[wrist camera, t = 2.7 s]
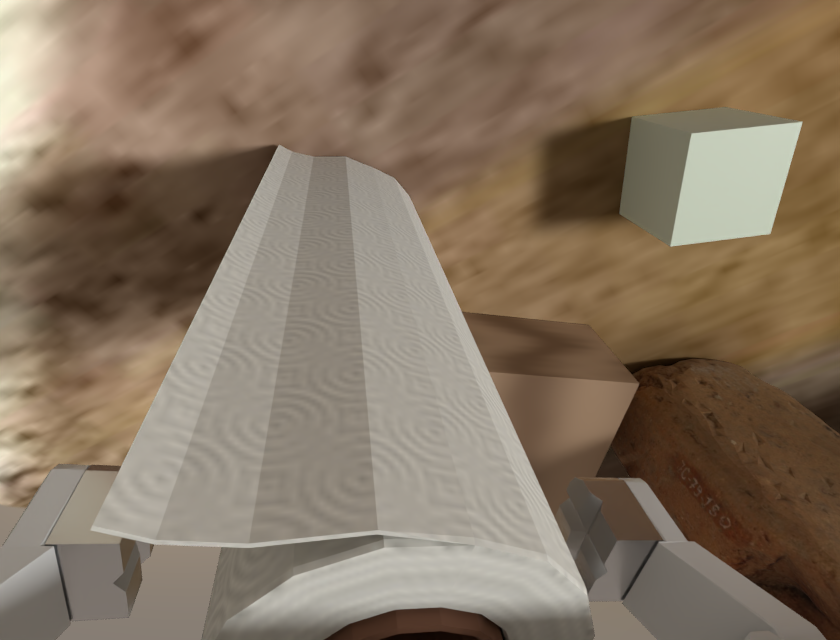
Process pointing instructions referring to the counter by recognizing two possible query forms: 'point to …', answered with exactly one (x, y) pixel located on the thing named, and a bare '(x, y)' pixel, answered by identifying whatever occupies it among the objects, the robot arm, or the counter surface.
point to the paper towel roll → (344, 437)
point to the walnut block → (555, 393)
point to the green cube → (706, 173)
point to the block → (742, 477)
